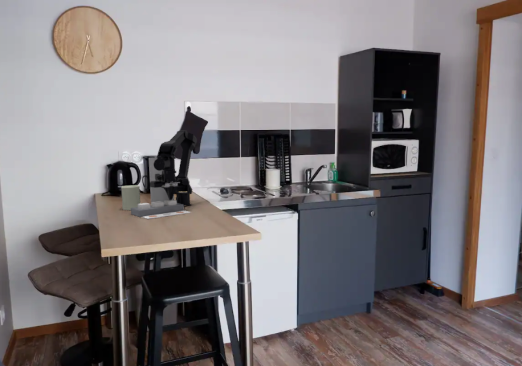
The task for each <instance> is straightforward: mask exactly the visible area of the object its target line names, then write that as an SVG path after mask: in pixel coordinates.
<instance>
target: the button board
mask: <svg viewBox="0 0 522 366" xmlns="http://www.w3.org/2000/svg"><path fill="white" fill-rule="evenodd" d="M178 211H185V206H184V205H183V204H179V203H177V205H171V206H167V205H165V204H164V206H163V207H156V208H155V207H151V204H150V208H148V209H138V207H134V208H131V210H130V215H133V216H136V217H138V218H143V217H144V216H150V215H157V214H164V213H171V212H178Z"/></svg>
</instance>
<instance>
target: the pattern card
mask: <svg viewBox="0 0 522 366" xmlns="http://www.w3.org/2000/svg"><path fill="white" fill-rule="evenodd" d="M184 214H191V211H187V210H184V211H178V212H171V213H164V214H157V215H150V216H144V217H142V219H146V220H150V219H157V218H165V217H172V216H177V215H184Z"/></svg>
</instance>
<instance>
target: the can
mask: <svg viewBox="0 0 522 366" xmlns="http://www.w3.org/2000/svg"><path fill="white" fill-rule="evenodd" d="M140 187H141V186H140V185H139V184H137V185H136V184H135V185H134V184H133V185H131V184H130V185H122V186H121V201H122V202H121V203H122V204H121V205H122V206H121V207H122V210H123V211H131V208H134V207H138V204H141V193H140V192H141V191H140V190H141V189H140Z"/></svg>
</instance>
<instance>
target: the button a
mask: <svg viewBox="0 0 522 366" xmlns="http://www.w3.org/2000/svg"><path fill="white" fill-rule="evenodd" d="M150 205H151V203H148V202H143V203H141V202H140V204H138V209H148V208H150Z"/></svg>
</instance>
